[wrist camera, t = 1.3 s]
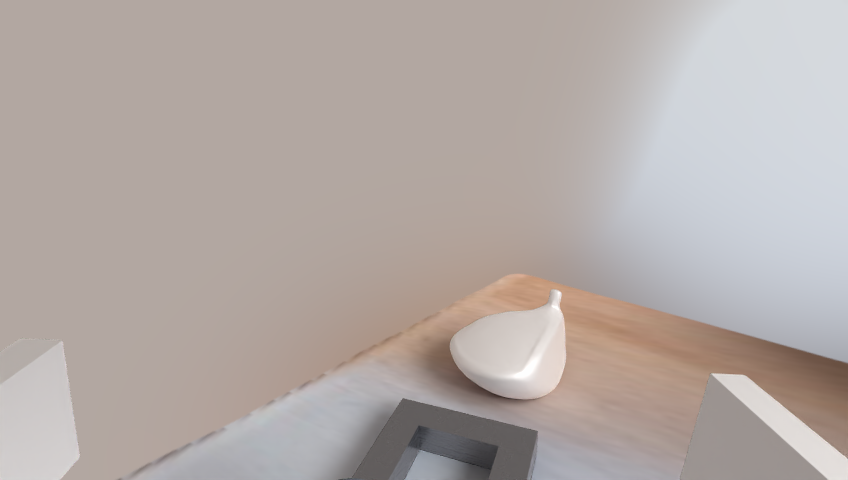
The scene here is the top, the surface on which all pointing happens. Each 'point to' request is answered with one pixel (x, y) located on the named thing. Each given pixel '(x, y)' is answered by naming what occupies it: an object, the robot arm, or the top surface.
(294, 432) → the top surface
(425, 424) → the socket block
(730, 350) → the top surface
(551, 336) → the driver head
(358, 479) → the peg
